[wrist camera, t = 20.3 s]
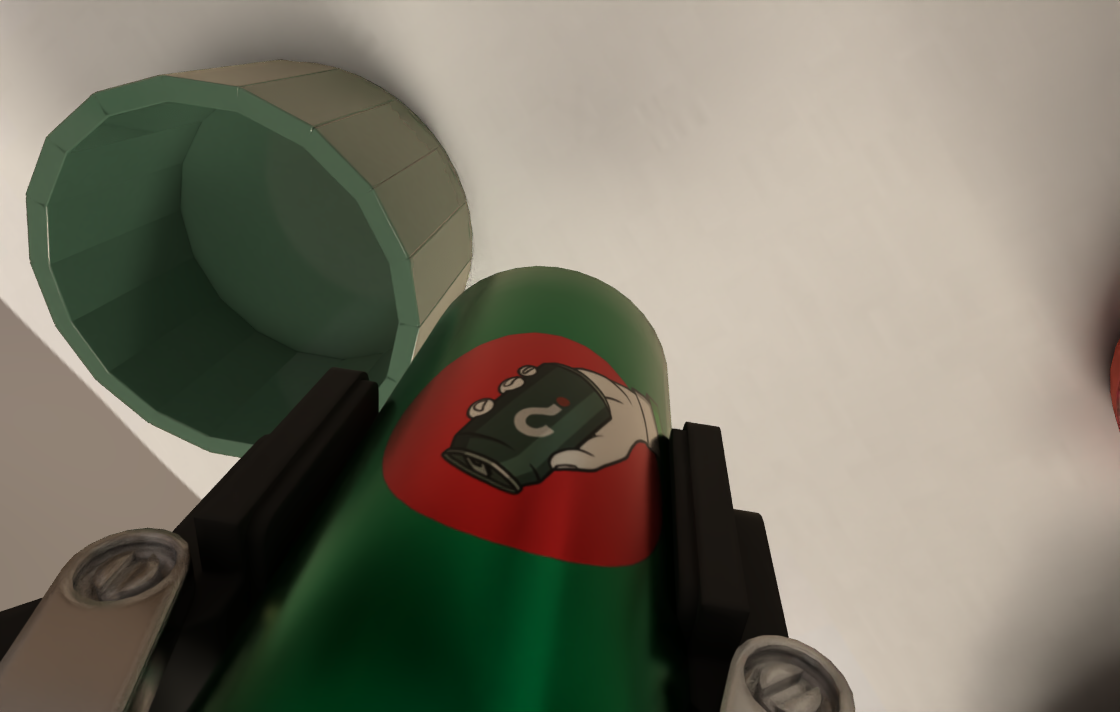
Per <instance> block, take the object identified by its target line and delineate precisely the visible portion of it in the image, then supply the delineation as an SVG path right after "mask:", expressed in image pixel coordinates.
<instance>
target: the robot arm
mask: <svg viewBox="0 0 1120 712" xmlns="http://www.w3.org/2000/svg"><path fill="white" fill-rule="evenodd" d="M378 413H379V388H378V384H377V383H376V382H373V381H369V377H368V374H367V373H366V372H364V371H357V370H351V369H344V368H338V367H332V368H330V369H329V370H328V371H327V372H326V373H325V374H324V375H323V376H322V378H321V379H320V380H319V381H318V382H317V383H316V384H315V385H314V386H313V387H312V388H311V390H310V391H309V392H308V393H307V394H306V395H305V396H304V397H303V398H302V399H301V400H300V402H299V403H298V404H297V405H296V406H295V407H294V408H293V409H292V410H291V411H290V413H289V414H288V415H287V416H286V417H285V418H284V419H283V420H282V421H281V422H280V423H279V425H278V426H277V427H276V428H275V429H274V430H273V431H272V432H271V433H270V434H266V435H263V436H262V437H261V438H260V439H258V440H257V441H256V442H255V444H254V445H253V446H252V447H251V448H250V449H249V450H248V451H247V452H246V453H245V454H244V455H243V456H242V457H241V459H240V460H239V461H238V462H237V463H236V464H235V465H234V466H233V467H232V468H231V469H230V470H229V471H228V473H227V474H226V475H225V476H224V477H223V478H222V479H221V480H220V481H219V482H218V483H217V484H216V485H215V486H214V488H213V489H212V490H211V491H210V492H209V493H208V494H207V495H206V496H205V497H204V498H203V499H202V500H201V501H200V503H199V504H198V505H197V506H196V507H195V508H194V509H193V510H192V511H191V512H190V513H189V515H187V517H186V518H185V519H184V520H183V521H182V522H181V523H180V524H179V525H178V526H177V527H176V528H175V529H174V531H173V532H170V531H167V530H163V529H153V528H143V529H134V530H127V531H123V532H120V533H116V534H112V535H109V536H107V537H104V538H102V539H100V540H98V541H96V542H93V543H92V544H90V545H88V546H87V547H85V548H84V549H83V550H81V551H80V552H78V553H77V554H75V555H74V556H73V557H72V558H71V559H70V560H69V561H68V562H67V564H66V565H65V566H64V567H63V568H62V570H61V572H60V573H59V574H58V576H57V577H56V579H55V580H54V582H53V583H52V585H51V586H50V588H49V589H48V591H47V592H46V594H45V595H44V597H43V598H40V599H37V600H34V601H32V602H28V603H25V604H22V605H19V606H16V607H13V608H10V609H7V610H4V611H1V612H0V712H186V711H187V709H188V708H189V706H190V705H191V703H192V702H193V700H194V698H195V697H196V695H197V694H198V692H199V691H200V689H201V688H202V686H203V684H204V683H205V681H206V680H207V678H208V677H209V675H210V674H211V672H212V671H213V669H214V667H215V666H216V664H217V663H218V661H219V660H220V658H221V657H222V655H223V653H224V652H225V650H226V649H227V647H228V646H229V644H230V643H231V641H232V640H233V638H234V636H235V635H236V633H237V632H238V630H239V629H240V627H241V626H242V624H243V622H244V621H245V619H246V618H247V616H248V615H249V613H250V612H251V610H252V609H253V607H254V605H255V604H256V602H257V601H258V599H259V598H260V596H261V595H262V593H263V592H264V590H265V588H266V587H267V585H268V584H269V582H270V581H271V579H272V578H273V576H274V574H275V573H276V571H277V570H278V568H279V567H280V565H281V564H282V562H283V561H284V559H285V557H286V556H287V554H288V553H289V551H290V550H291V548H292V547H293V545H294V543H295V542H296V540H297V539H298V537H299V536H300V534H301V533H302V531H303V530H304V528H305V526H306V525H307V523H308V522H309V520H310V519H311V517H312V516H313V514H314V512H315V511H316V509H317V508H318V506H319V505H320V503H321V502H322V500H323V499H324V497H325V495H326V494H327V492H328V491H329V489H330V488H331V486H332V485H333V483H334V482H335V480H336V478H337V477H338V475H339V474H340V472H341V471H342V469H343V468H344V466H345V464H346V463H347V461H348V460H349V458H350V457H351V455H352V454H353V452H354V451H355V449H356V447H357V446H358V444H359V443H360V441H361V440H362V438H363V437H364V435H365V433H366V432H367V430H368V429H369V427H370V426H371V424H372V423H373V421H374V420H375V418H376V416H377V415H378ZM669 455H670V475H671V497H672V520H673V543H674V566H675V589H676V612H677V618H678V620H679V622H680V625H681V629H682V632H683V635H684V638H685V642H686V645H687V649H688V664H689V678H690V692H691V704H692V712H855V705H854V699H853V693H852V691H851V689H850V687H849V685H848V683H847V681H846V679H845V677H844V676H843V674H842V673H841V672H840V671H839V670H838V669H837V668H836V666H835V665H834V664H833V663H832V662H831V661H830V660H829V659H827V658H826V657H825V656H824V655H822V654H821V653H820V652H818V651H817V650H816V649H814V648H812V647H810V646H808V645H806V644H804V643H802V642H800V641H798V640H795V639H791V638H789V637H788V632H787V627H786V623H785V618H784V613H783V609H782V604H781V600H780V595H779V590H778V586H777V581H776V576H775V572H774V567H773V563H772V558H771V553H770V549H769V544H768V540H767V535H766V530H765V526H764V522H763V519H762V516H761V515H760V514H759V513H755V512H749V511H743V510H736V509H733V504H732V498H731V492H730V486H729V479H728V473H727V467H726V461H725V455H724V448H723V442H722V436H721V430H720V427H717V426H710V425H704V424H697V423H691V422H686V423H685V424H684V427H683V430H680V429H673V428H672V429H671V432H670V436H669Z"/></svg>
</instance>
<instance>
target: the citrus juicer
mask: <svg viewBox="0 0 1120 712" xmlns="http://www.w3.org/2000/svg"><path fill="white" fill-rule="evenodd" d="M1110 393H1111V398H1112V404H1113V409H1114V413H1115V417H1116V420H1117V424H1118V427H1119V431H1120V339H1119V341H1118V343H1117V345H1116V348H1115V352H1114V356H1113V360H1112V364H1111V368H1110Z"/></svg>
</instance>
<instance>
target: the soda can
mask: <svg viewBox="0 0 1120 712" xmlns="http://www.w3.org/2000/svg"><path fill="white" fill-rule="evenodd" d="M671 429H672V426H671V412H670V399H669V385H668V373H667V363H666V359H665V355H664V352H663V348H662V345H661V343H660V341H659V339H658V337H657V334H656V332H655V330H654V329H653V327H652V326H651V324H650V323H649V321H648V320H647V318H646V317H645V315H644V314H643V313H642V312H641V311H640V310H639V309H638V308H637V307H636V306H635V305H634V304H633V303H632V302H631V300H629V299H628V298H627V297H625V296H624V295H623V294H622V293H620V292H619V291H618V290H616V289H615V288H613V287H612V286H610V285H608V284H606V283H604V282H602V281H601V280H599V279H597V278H594V277H592V276H589V275H586V274H583V273H581V272H578V271H574V270H569V269H564V268H559V267H545V266H532V267H522V268H515V269H511V270H507V271H503V272H499V273H496V274H494V275H492V276H490V277H487V278H485V279H483V280H480V281H479V282H477V283H476V284H474V285H473V286H471V287H470V288H468V289H466V290H465V291H464V292H463V293H461V294H460V295H459V296H458V297H457V298H456V299H455V300H454V301H453V302H452V303H451V304H450V305H449V307H448V308H447V309H446V311H445V312H444V313H443V315H442V316H441V317H440V319H439V320H438V322H437V323H436V325H435V327H434V328H433V330H432V331H431V333H430V334H429V336H428V337H427V339H426V341H425V342H424V344H423V345H422V347H421V348H420V350H419V351H418V353H417V354H416V356H415V358H414V359H413V361H412V362H411V364H410V365H409V367H408V368H407V370H406V372H405V373H404V375H403V376H402V378H401V379H400V381H399V382H398V384H397V385H396V387H395V389H394V390H393V392H392V393H391V395H390V396H389V398H388V399H387V401H386V402H385V404H384V406H383V407H382V409H381V410H380V412H379V413H378V415H377V416H376V418H375V420H374V421H373V423H372V424H371V426H370V427H369V429H368V430H367V432H366V433H365V435H364V437H363V438H362V440H361V441H360V443H359V444H358V446H357V447H356V449H355V451H354V452H353V454H352V455H351V457H350V458H349V460H348V461H347V463H346V464H345V466H344V468H343V469H342V471H341V472H340V474H339V475H338V477H337V478H336V480H335V482H334V483H333V485H332V486H331V488H330V489H329V491H328V492H327V494H326V495H325V497H324V499H323V500H322V502H321V503H320V505H319V506H318V508H317V509H316V511H315V512H314V514H313V516H312V517H311V519H310V520H309V522H308V523H307V525H306V526H305V528H304V530H303V531H302V533H301V534H300V536H299V537H298V539H297V540H296V542H295V543H294V545H293V547H292V548H291V550H290V551H289V553H288V554H287V556H286V557H285V559H284V561H283V562H282V564H281V565H280V567H279V568H278V570H277V571H276V573H275V574H274V576H273V578H272V579H271V581H270V582H269V584H268V585H267V587H266V588H265V590H264V592H263V593H262V595H261V596H260V598H259V599H258V601H257V602H256V604H255V605H254V607H253V609H252V610H251V612H250V613H249V615H248V616H247V618H246V619H245V621H244V622H243V624H242V626H241V627H240V629H239V630H238V632H237V633H236V635H235V636H234V638H233V640H232V641H231V643H230V644H229V646H228V647H227V649H226V650H225V652H224V653H223V655H222V657H221V658H220V660H219V661H218V663H217V664H216V666H215V667H214V669H213V671H212V672H211V674H210V675H209V677H208V678H207V680H206V681H205V683H204V684H203V686H202V688H201V689H200V691H199V692H198V694H197V695H196V697H195V698H194V700H193V702H192V703H191V705H190V706H189V708H188V709H187V711H186V712H692V704H691V692H690V678H689V664H688V649H687V645H686V642H685V638H684V635H683V632H682V629H681V625H680V622H679V620H678V618H677V612H676V589H675V566H674V543H673V520H672V497H671V475H670V455H669V436H670V432H671Z"/></svg>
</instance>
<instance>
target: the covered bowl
mask: <svg viewBox="0 0 1120 712" xmlns="http://www.w3.org/2000/svg"><path fill="white" fill-rule="evenodd" d="M26 208H27V225H28V243H29V259H30V264H31V266H32V269H33V271H34V274H35V276H36V279H37V281H38V284H39V287H40V289H41V292H42V294H43V297H44V299H45V302H46V304H47V307H48V309H49V312H50V314H51V317H52V319H53V322H54V324H56V325H55V326H56V328H57V329H58V330H59V332H60V333H61V334H62V336H63V337H64V338H65V340H66V341H67V342H68V344H69V345H70V346H71V348H72V349H73V350H74V352H75V353H76V354H77V356H78V357H79V358H80V360H81V361H82V362H83V364H84V365H85V366H86V368H87V369H88V370H89V372H90V373H91V374H92V376H93V377H94V378H95V380H97V381H98V382H99V383H100V384H101V385H102V386H104V387H105V388H106V389H107V390H109V391H110V392H111V393H112V394H114V395H115V396H116V397H117V398H118V399H120V400H121V401H122V402H123V403H125V404H126V405H127V406H128V407H129V408H131V409H132V410H133V411H134V412H136V413H137V414H138V415H139V416H140V417H142V418H143V419H144V420H145V421H147V422H148V423H151V424H152V425H154V426H156V427H158V428H160V429H162V430H164V431H166V432H168V433H170V434H172V435H175V436H177V437H179V438H181V439H183V440H185V441H187V442H189V443H191V444H193V445H196V446H198V447H200V448H202V449H204V450H206V451H209V452H212V453H217V454H222V455H228V456H233V457H239V458H241V457H242V456H243V455H244V454H245V453H246V452H247V451H248V450H249V449H250V448H251V447H252V446H253V445H254V444H255V442H256V441H257V440H258V439H260V438H261V437H262V436H263V435H266V434H270V433H271V432H272V431H273V430H274V429H275V428H276V427H277V426H278V425H279V423H280V422H281V421H282V420H283V419H284V418H285V417H286V416H287V415H288V414H289V413H290V411H291V410H292V409H293V408H294V407H295V406H296V405H297V404H298V403H299V402H300V400H301V399H302V398H303V397H304V396H305V395H306V394H307V393H308V392H309V391H310V390H311V388H312V387H313V386H314V385H315V384H316V383H317V382H318V381H319V380H320V379H321V378H322V376H323V375H324V374H325V373H326V372H327V371H328V370H329V369H330V368H332V367H338V368H344V369H351V370H357V371H364V372H366V373H367V374H368V377H369V381H373V382H376V383H377V384H378V388H379V412H380V410H381V409H382V407H383V406H384V404H385V402H386V401H387V399H388V398H389V396H390V395H391V393H392V392H393V390H394V389H395V387H396V385H397V384H398V382H399V381H400V379H401V378H402V376H403V375H404V373H405V372H406V370H407V368H408V367H409V365H410V364H411V362H412V361H413V359H414V358H415V356H416V354H417V353H418V351H419V350H420V348H421V347H422V345H423V344H424V342H425V341H426V339H427V337H428V336H429V334H430V333H431V331H432V330H433V328H434V327H435V325H436V323H437V322H438V320H439V319H440V317H441V316H442V315H443V313H444V312H445V311H446V309H447V308H448V307H449V305H450V304H451V303H452V302H453V301H454V300H455V299H456V298H457V297H458V296H459V295H460V294H461V293H463V292H464V290H465V287H466V283H467V280H468V276H469V273H470V266H471V260H472V228H471V220H470V213H469V209H468V205H467V201H466V197H465V194H464V191H463V188H462V186H461V183H460V181H459V178H458V175H457V173H456V171H455V169H454V167H453V165H452V163H451V162H450V160H449V158H448V156H447V154H446V152H445V151H444V149H443V148H442V147H441V145H440V144H439V142H438V141H437V139H436V138H435V137H434V135H433V134H432V132H431V131H430V130H429V129H428V128H427V127H426V126H425V125H424V123H423V122H422V121H421V120H420V119H419V118H418V117H417V116H416V115H415V114H414V113H413V112H412V111H411V110H410V109H408V108H407V107H406V106H405V105H404V104H403V103H402V102H401V101H399V100H398V99H397V98H395V97H394V96H392V95H391V94H390V93H388V92H387V91H385V90H384V89H382V88H381V87H379V86H377V85H376V84H374V83H372V82H370V81H368V80H366V79H364V78H362V77H360V76H358V75H356V74H353V73H350V72H347V71H345V70H342V69H340V68H336V67H332V66H327V65H323V64H318V63H311V62H298V61H289V60H283V59H281V60H272V61H264V62H256V63H248V64H240V65H233V66H225V67H217V68H209V69H201V70H194V71H186V72H178V73H170V74H162V75H157V76H154V77H150V78H146V79H142V80H139V81H135V82H131V83H127V84H124V85H120V86H116V87H112V88H109V89H105V90H101V91H97V92H95V93H93V94H92V95H91V96H90V97H89V98H88V99H86V100H85V101H84V102H83V103H82V104H81V105H80V106H79V107H78V108H77V109H76V110H75V111H73V112H72V113H71V114H70V115H69V116H68V117H67V118H66V119H65V120H64V121H63V122H62V123H60V124H59V125H58V126H57V127H56V128H55V129H54V130H53V131H52V132H51V133H50V134H49V135H48V136H47V137H46V139H45V142H44V145H43V147H42V150H41V153H40V156H39V158H38V161H37V164H36V167H35V170H34V172H33V175H32V178H31V181H30V183H29V186H28V189H27V192H26Z"/></svg>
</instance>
